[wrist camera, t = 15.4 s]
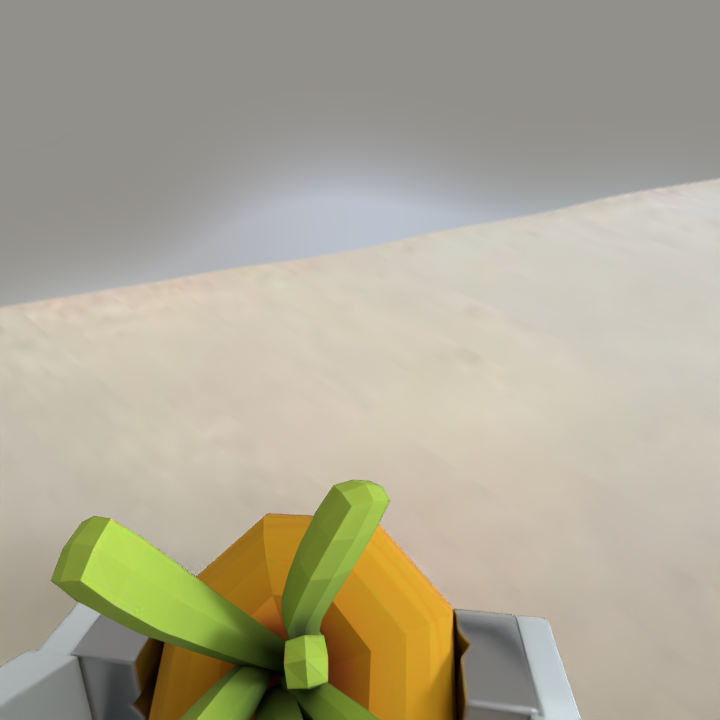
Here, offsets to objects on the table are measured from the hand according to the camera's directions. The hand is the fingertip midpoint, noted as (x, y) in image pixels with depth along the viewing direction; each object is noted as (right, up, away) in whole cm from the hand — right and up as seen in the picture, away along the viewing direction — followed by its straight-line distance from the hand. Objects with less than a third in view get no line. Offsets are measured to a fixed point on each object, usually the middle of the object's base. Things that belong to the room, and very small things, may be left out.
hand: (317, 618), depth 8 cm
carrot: (+1, -5, +8) cm, 10 cm away
